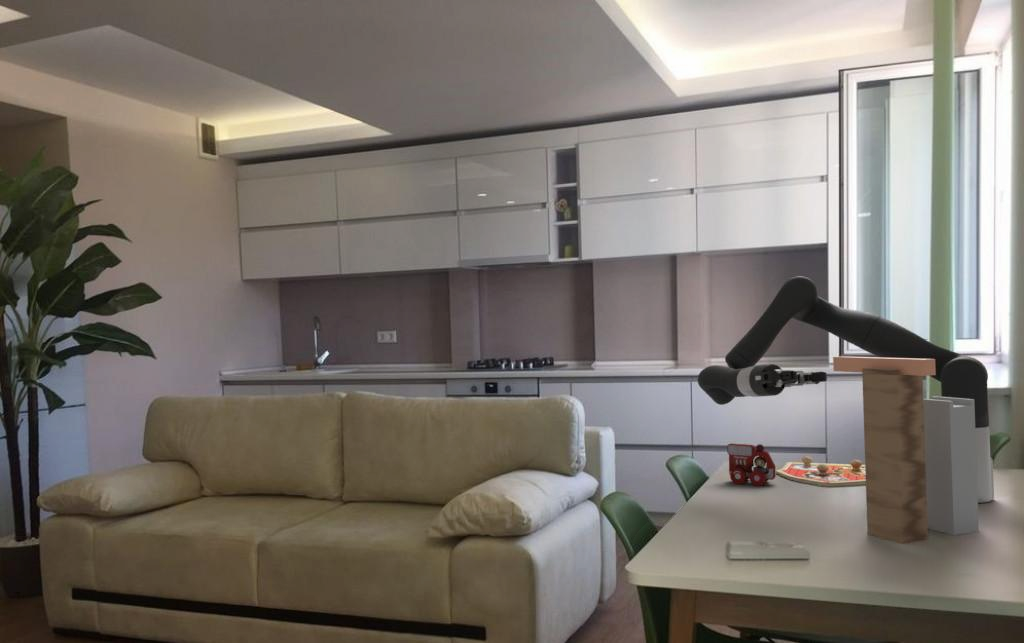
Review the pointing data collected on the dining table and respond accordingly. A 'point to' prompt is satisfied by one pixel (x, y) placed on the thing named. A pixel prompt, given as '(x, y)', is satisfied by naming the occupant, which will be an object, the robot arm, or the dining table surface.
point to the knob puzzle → (825, 473)
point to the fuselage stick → (886, 365)
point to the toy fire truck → (750, 464)
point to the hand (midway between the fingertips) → (810, 375)
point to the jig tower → (894, 455)
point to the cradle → (951, 465)
